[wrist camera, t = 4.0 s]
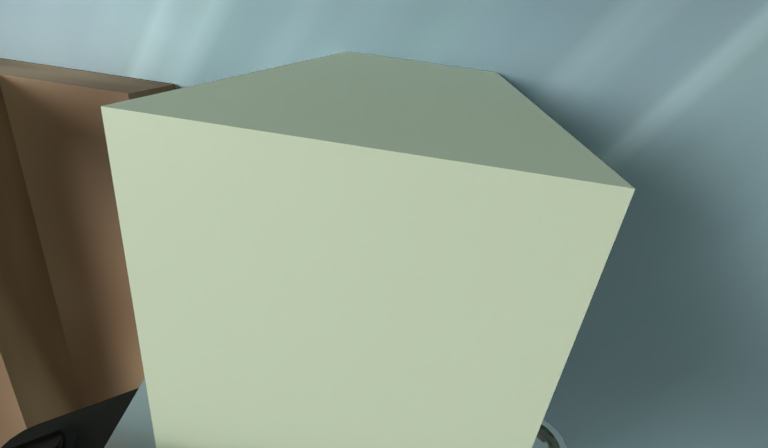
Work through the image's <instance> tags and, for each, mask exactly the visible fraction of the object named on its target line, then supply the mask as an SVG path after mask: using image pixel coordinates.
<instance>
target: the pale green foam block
mask: <svg viewBox="0 0 768 448" xmlns="http://www.w3.org/2000/svg"><path fill="white" fill-rule="evenodd" d="M101 111H102V117H103V124H104V130H105V136H106V142H107V148H108V154H109V161H110V167H111V173H112V179H113V185H114V191H115V197H116V204H117V210H118V216H119V222H120V228H121V234H122V240H123V247H124V253H125V259H126V265H127V271H128V277H129V283H130V290H131V296H132V302H133V308H134V314H135V320H136V326H137V333H138V339H139V345H140V351H141V357H142V363H143V370H144V376H145V382H146V388H147V394H148V400H149V406H150V413H151V419H152V425H153V431H154V437H155V443H156V448H532V446H533V444H534V441H535V439H536V436H537V434H538V431H539V429H540V426H541V424H542V421H543V419H544V416H545V414H546V411H547V409H548V406H549V404H550V401H551V399H552V396H553V394H554V391H555V389H556V386H557V384H558V381H559V379H560V376H561V374H562V371H563V369H564V366H565V364H566V361H567V359H568V356H569V354H570V351H571V349H572V346H573V344H574V341H575V339H576V336H577V334H578V331H579V329H580V326H581V324H582V321H583V319H584V316H585V314H586V311H587V309H588V306H589V304H590V301H591V299H592V296H593V294H594V291H595V289H596V286H597V284H598V281H599V279H600V276H601V274H602V271H603V269H604V266H605V264H606V261H607V259H608V256H609V254H610V251H611V249H612V246H613V244H614V241H615V239H616V236H617V234H618V231H619V229H620V226H621V224H622V221H623V219H624V216H625V214H626V211H627V209H628V206H629V204H630V201H631V199H632V196H633V194H634V191H635V188H634V187H633V186H631V185H630V184H629V183H628V182H627V181H625V180H624V179H623V178H622V177H621V176H620V175H618V174H617V173H616V172H615V171H614V170H612V169H611V168H610V167H609V166H608V165H606V164H605V163H604V162H603V161H602V160H600V159H599V158H598V157H597V156H596V155H594V154H593V153H592V152H591V151H590V150H589V149H587V148H586V147H585V146H584V145H583V144H581V143H580V142H579V141H578V140H577V139H575V138H574V137H573V136H572V135H571V134H569V133H568V132H567V131H566V130H565V129H564V128H562V127H561V126H560V125H559V124H558V123H556V122H555V121H554V120H553V119H552V118H550V117H549V116H548V115H547V114H546V113H544V112H543V111H542V110H541V109H540V108H538V107H537V106H536V105H535V104H534V103H533V102H531V101H530V100H529V99H528V98H527V97H525V96H524V95H523V94H522V93H521V92H519V91H518V90H517V89H516V88H515V87H513V86H512V85H511V84H510V83H509V82H508V81H506V80H505V79H504V78H503V77H502V76H500V75H499V74H498V73H497V72H491V71H483V70H476V69H469V68H462V67H455V66H448V65H440V64H433V63H426V62H419V61H412V60H404V59H397V58H390V57H383V56H376V55H369V54H361V53H354V52H342V53H338V54H333V55H329V56H324V57H320V58H315V59H311V60H306V61H302V62H297V63H293V64H288V65H284V66H279V67H275V68H270V69H266V70H261V71H257V72H252V73H248V74H243V75H239V76H234V77H230V78H225V79H221V80H216V81H212V82H207V83H203V84H198V85H194V86H189V87H185V88H180V89H176V90H171V91H167V92H162V93H158V94H153V95H149V96H144V97H140V98H135V99H131V100H126V101H122V102H117V103H113V104H108V105H104V106H101Z"/></svg>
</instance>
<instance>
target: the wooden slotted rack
mask: <svg viewBox="0 0 768 448" xmlns="http://www.w3.org/2000/svg"><path fill="white" fill-rule="evenodd" d="M171 90H175V84H170V83H163V82H156V81H149V80H143V79H136V78H129V77H123V76H116V75H109V74H103V73H96V72H89V71H83V70H76V69H69V68H63V67H56V66H49V65H43V64H36V63H29V62H22V61H16V60H9V59H2V58H0V448H1V447H2V446H3V445H4V444H5V443H6V442H8V441H9V440H10V439H11V438H13V437H14V436H16V435H17V434H19V433H20V432H22V431H24V430H26V429H28V428H30V427H32V426H35V425H37V424H39V423H42V422H45V421H48V420H51V419H53V418H56V417H59V416H62V415H65V414H67V413H70V412H73V411H76V410H79V409H81V408H84V407H87V406H90V405H93V404H95V403H98V402H101V401H104V400H107V399H109V398H112V397H115V396H118V395H120V394H123V393H126V392H129V391H132V390H134V389H137V388H139V387H140V385H141V384H142V382H143V380H144V379H145V376H144V370H143V363H142V357H141V351H140V345H139V339H138V333H137V326H136V320H135V314H134V308H133V302H132V296H131V290H130V283H129V277H128V271H127V265H126V259H125V253H124V247H123V240H122V234H121V228H120V222H119V216H118V210H117V204H116V197H115V191H114V185H113V179H112V173H111V167H110V161H109V154H108V148H107V142H106V136H105V130H104V124H103V117H102V111H101V106H104V105H108V104H113V103H117V102H122V101H126V100H131V99H135V98H140V97H144V96H149V95H153V94H158V93H162V92H167V91H171Z"/></svg>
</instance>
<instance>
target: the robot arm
mask: <svg viewBox="0 0 768 448" xmlns="http://www.w3.org/2000/svg"><path fill="white" fill-rule="evenodd" d="M1 448H156V443H155V437H154V431H153V425H152V419H151V413H150V406H149V400H148V394H147V388H146V382H145V379H144V380H143V382H142V384H141V385H140V387H139V388H137V389H134V390H132V391H129V392H126V393H123V394H120V395H118V396H115V397H112V398H109V399H107V400H104V401H101V402H98V403H95V404H93V405H90V406H87V407H84V408H81V409H79V410H76V411H73V412H70V413H67V414H65V415H62V416H59V417H56V418H53V419H51V420H48V421H45V422H42V423H39V424H37V425H35V426H32V427H30V428H28V429H26V430H24V431H22V432H20V433H19V434H17V435H16V436H14V437H13V438H11V439H10V440H9V441H8V442H6V443H5V444H4V445H3V446H2V447H1ZM532 448H567V446H566V443H565V442H564V440H563V438H562V436H561V435H560V434H559V433H558V431H557V430H556V429H555V428H554V427H553V426H552V425H550V424H549V423H548V422H546V421H545V420H543V421H542V424H541V426H540V429H539V431H538V434H537V436H536V439H535V441H534V444H533V446H532Z"/></svg>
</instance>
